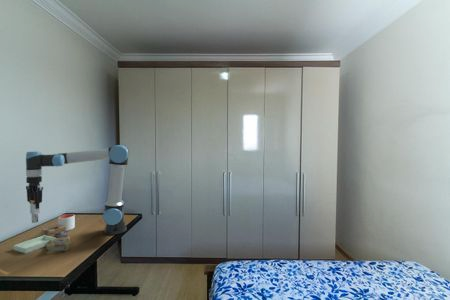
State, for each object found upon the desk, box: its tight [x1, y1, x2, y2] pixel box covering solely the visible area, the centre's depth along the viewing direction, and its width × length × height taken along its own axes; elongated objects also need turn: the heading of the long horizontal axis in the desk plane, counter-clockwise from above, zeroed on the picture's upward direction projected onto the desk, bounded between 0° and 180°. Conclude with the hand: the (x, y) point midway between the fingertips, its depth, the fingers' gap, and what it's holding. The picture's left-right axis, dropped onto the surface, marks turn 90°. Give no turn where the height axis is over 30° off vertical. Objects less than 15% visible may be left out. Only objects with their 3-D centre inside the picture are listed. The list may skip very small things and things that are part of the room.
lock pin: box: [30, 200, 39, 224], centre depth 149 cm, size 4×4×14 cm
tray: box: [13, 235, 54, 255], centre depth 149 cm, size 12×17×3 cm
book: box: [46, 235, 71, 255], centre depth 148 cm, size 15×11×5 cm
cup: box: [58, 213, 76, 232], centre depth 178 cm, size 10×10×10 cm
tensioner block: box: [41, 224, 69, 238], centre depth 166 cm, size 16×10×5 cm, turn 67°
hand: (34, 213), depth 149 cm, fingers closed on lock pin, 3 cm apart
